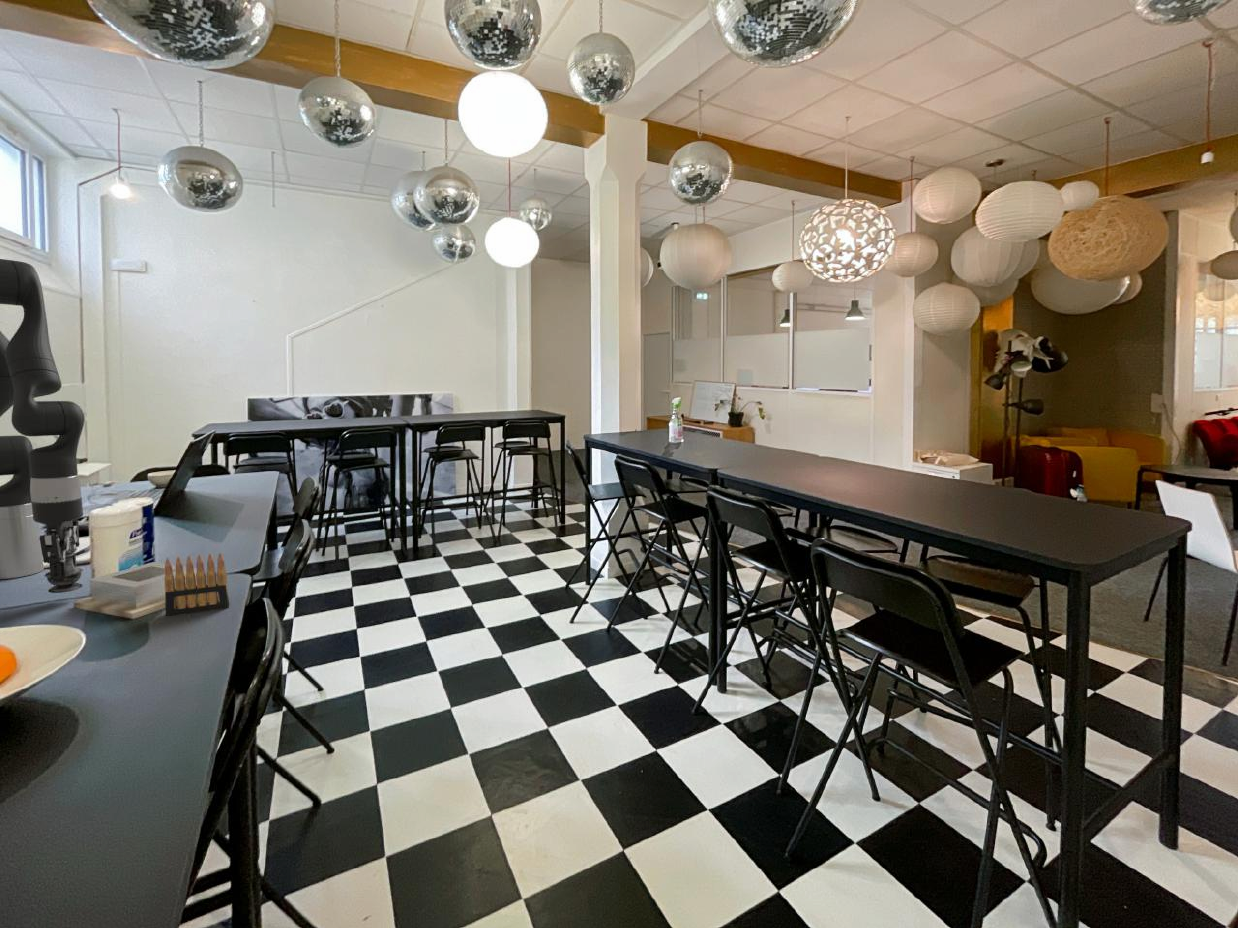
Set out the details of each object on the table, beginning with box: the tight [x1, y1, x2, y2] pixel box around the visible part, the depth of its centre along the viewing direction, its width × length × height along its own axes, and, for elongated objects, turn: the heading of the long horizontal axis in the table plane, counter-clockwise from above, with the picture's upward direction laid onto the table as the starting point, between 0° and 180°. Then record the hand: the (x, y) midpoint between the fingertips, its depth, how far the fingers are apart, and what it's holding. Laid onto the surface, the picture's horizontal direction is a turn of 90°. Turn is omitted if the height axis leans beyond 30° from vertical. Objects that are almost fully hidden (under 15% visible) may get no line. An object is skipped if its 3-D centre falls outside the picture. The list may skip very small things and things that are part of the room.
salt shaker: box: [44, 540, 84, 594], centre depth 121 cm, size 6×6×12 cm
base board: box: [72, 595, 187, 620], centre depth 125 cm, size 17×17×1 cm
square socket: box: [89, 561, 197, 608], centre depth 125 cm, size 13×13×4 cm
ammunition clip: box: [164, 552, 230, 617], centre depth 119 cm, size 11×2×12 cm, turn 120°
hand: (64, 574), depth 122 cm, fingers closed on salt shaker, 6 cm apart
